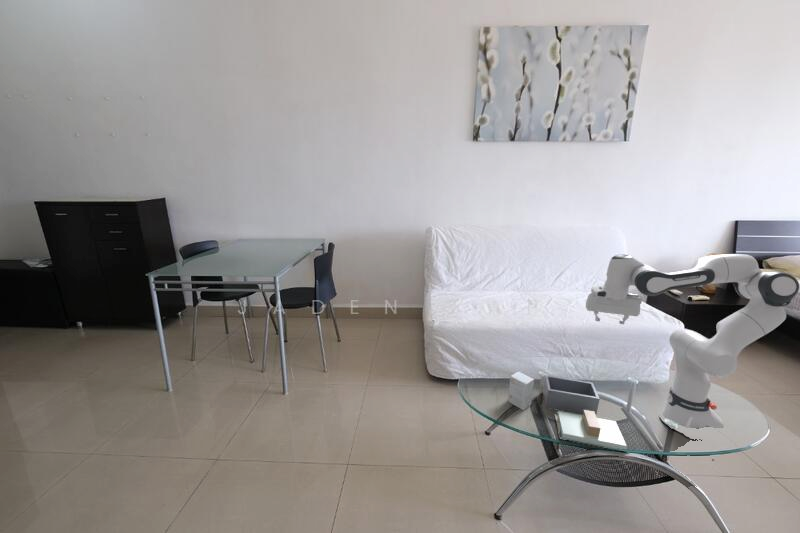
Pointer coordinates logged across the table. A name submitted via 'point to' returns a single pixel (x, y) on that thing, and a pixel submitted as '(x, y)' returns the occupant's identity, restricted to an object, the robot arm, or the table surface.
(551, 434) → the table surface
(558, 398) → the storage box
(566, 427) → the lid
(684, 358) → the robot arm
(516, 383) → the small box
